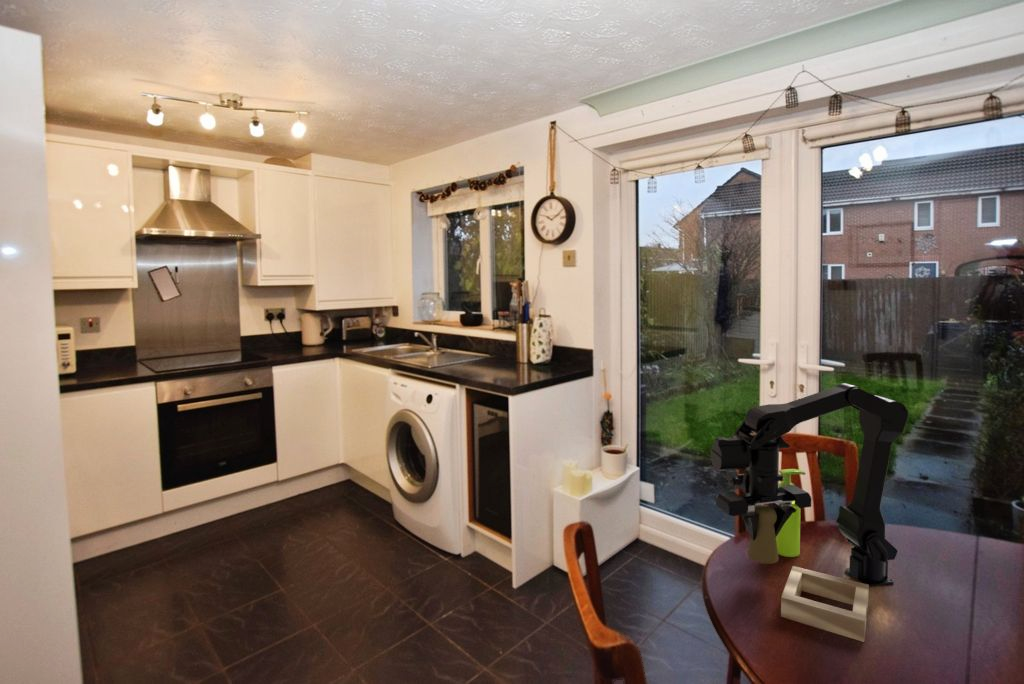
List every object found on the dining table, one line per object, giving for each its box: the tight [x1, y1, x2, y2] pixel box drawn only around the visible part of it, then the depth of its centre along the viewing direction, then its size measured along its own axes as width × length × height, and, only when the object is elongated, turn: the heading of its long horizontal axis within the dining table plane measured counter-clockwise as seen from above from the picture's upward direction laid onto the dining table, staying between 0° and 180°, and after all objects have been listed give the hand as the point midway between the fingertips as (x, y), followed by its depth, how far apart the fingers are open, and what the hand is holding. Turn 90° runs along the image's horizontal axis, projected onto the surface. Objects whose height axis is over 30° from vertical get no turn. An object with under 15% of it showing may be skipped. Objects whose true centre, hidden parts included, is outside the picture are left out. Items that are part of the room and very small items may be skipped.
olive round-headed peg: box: [747, 504, 779, 564], centre depth 113 cm, size 6×6×11 cm
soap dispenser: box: [776, 468, 806, 558], centre depth 126 cm, size 6×7×20 cm
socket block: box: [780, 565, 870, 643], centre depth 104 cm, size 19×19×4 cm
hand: (763, 538), depth 113 cm, fingers closed on olive round-headed peg, 4 cm apart
